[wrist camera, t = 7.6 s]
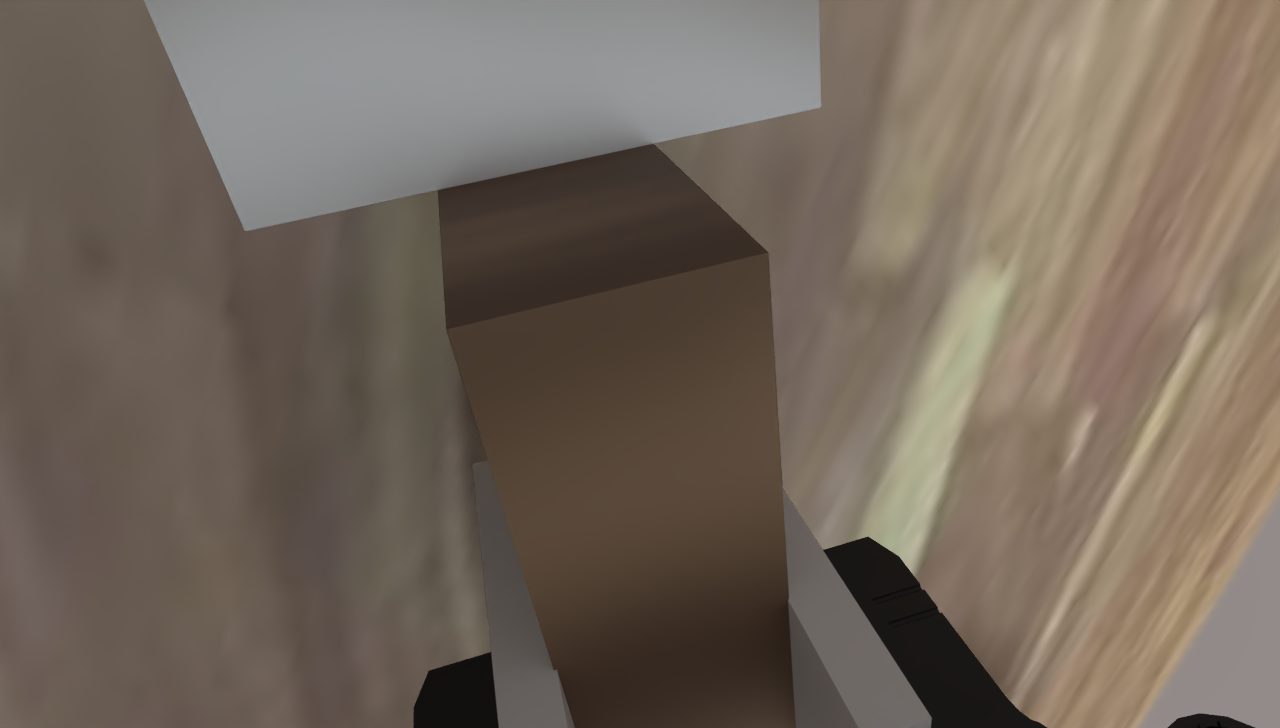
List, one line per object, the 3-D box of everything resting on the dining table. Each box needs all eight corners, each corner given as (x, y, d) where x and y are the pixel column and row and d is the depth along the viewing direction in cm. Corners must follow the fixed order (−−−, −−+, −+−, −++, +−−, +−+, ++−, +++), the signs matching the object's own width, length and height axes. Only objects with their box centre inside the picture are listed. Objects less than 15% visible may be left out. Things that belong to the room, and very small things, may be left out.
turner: (816, 624, 18) (937, 839, 14) (475, 730, 17) (494, 998, 13) (774, -590, 8) (1160, -1150, 4) (-53, -517, 7) (-773, -1185, 3)
